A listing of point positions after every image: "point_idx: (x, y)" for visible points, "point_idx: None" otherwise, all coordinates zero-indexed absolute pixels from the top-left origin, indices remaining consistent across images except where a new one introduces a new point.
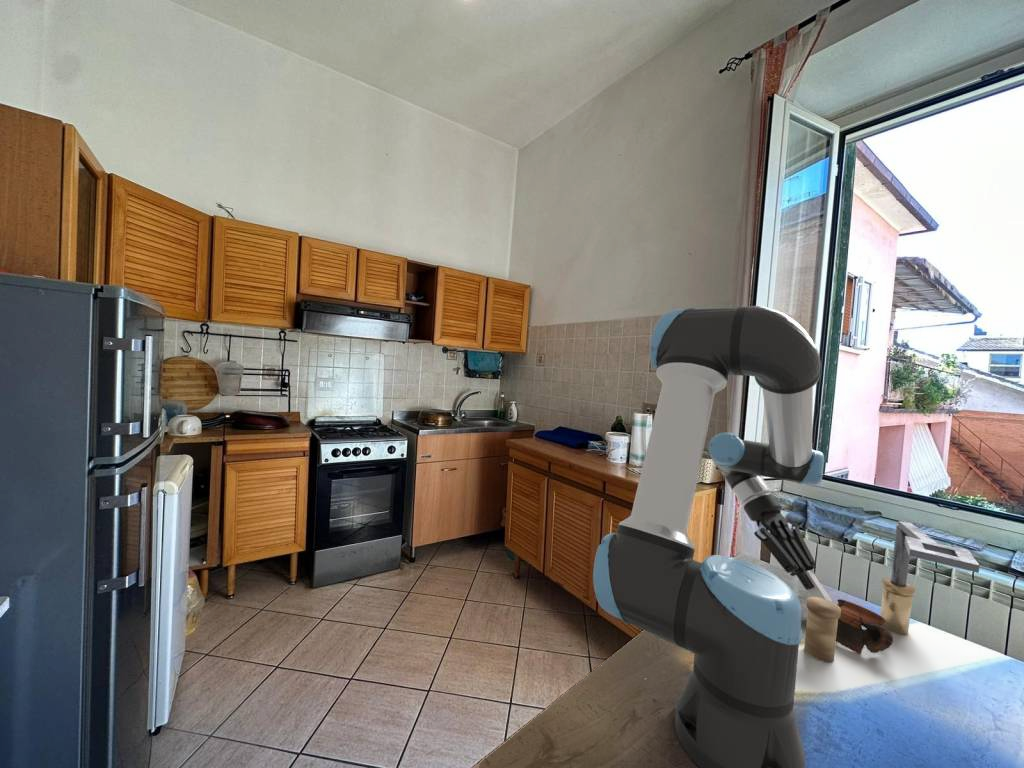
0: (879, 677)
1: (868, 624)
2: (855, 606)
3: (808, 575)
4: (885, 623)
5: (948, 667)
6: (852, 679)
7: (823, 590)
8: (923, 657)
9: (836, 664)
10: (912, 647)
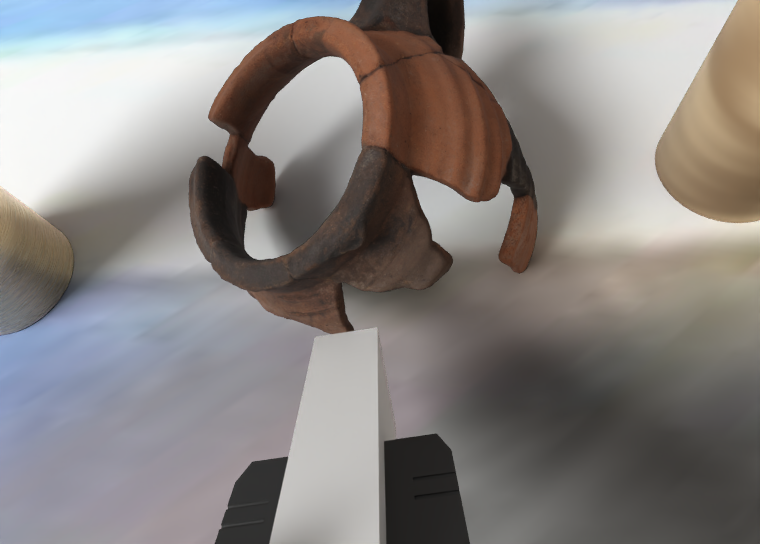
0: (553, 27)
1: (427, 30)
2: (393, 71)
3: (385, 528)
4: (51, 266)
5: (165, 44)
6: (702, 27)
7: (330, 386)
8: (185, 95)
9: None
10: (140, 148)
